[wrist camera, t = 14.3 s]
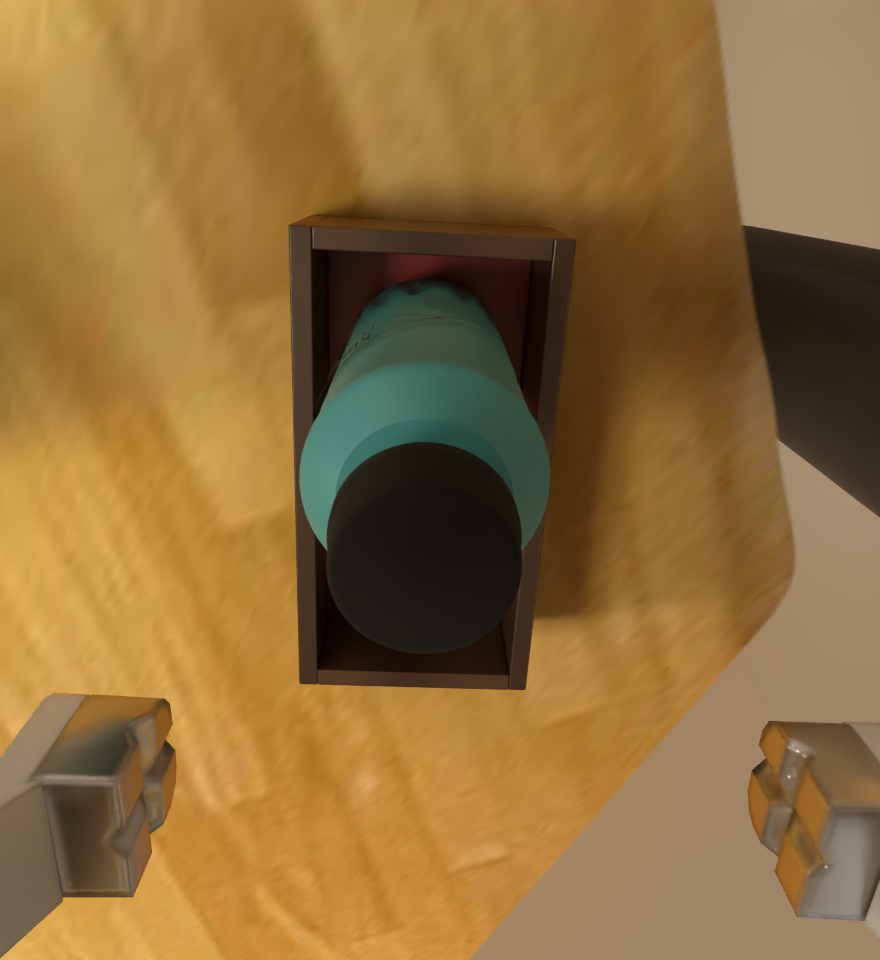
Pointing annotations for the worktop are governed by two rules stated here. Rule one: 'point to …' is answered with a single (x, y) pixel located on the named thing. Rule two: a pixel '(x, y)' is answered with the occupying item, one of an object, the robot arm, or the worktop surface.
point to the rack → (315, 348)
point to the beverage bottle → (424, 471)
